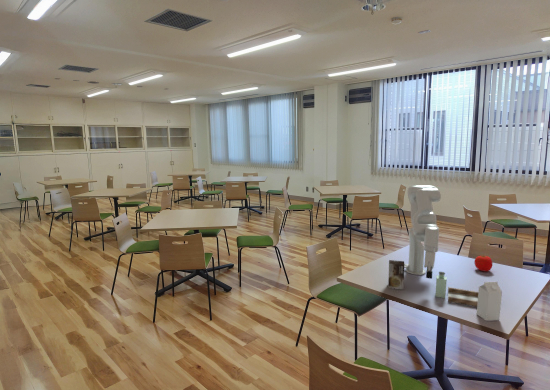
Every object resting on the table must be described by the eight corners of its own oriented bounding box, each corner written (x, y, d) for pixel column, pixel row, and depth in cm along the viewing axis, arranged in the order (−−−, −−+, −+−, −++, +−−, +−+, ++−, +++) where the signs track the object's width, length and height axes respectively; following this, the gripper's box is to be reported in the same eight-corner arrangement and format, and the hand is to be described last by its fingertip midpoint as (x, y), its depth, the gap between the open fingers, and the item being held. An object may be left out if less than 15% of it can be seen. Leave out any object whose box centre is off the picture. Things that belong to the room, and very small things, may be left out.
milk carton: (476, 314, 174) (479, 279, 171) (489, 313, 174) (492, 278, 171) (486, 321, 167) (489, 285, 164) (499, 320, 167) (502, 284, 164)
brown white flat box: (448, 301, 187) (448, 295, 186) (447, 291, 200) (448, 285, 199) (490, 309, 178) (491, 302, 177) (487, 298, 191) (488, 291, 190)
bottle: (435, 296, 194) (436, 273, 192) (435, 292, 199) (437, 270, 197) (445, 298, 192) (446, 274, 190) (445, 294, 196) (446, 271, 194)
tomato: (494, 271, 231) (496, 256, 230) (487, 274, 226) (489, 259, 224) (478, 266, 240) (479, 252, 238) (471, 269, 234) (472, 255, 233)
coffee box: (403, 285, 209) (404, 261, 206) (403, 290, 203) (404, 264, 200) (388, 283, 212) (389, 259, 209) (387, 288, 206) (388, 263, 203)
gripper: (424, 243, 202) (423, 272, 205) (423, 250, 189) (421, 281, 192) (438, 245, 199) (436, 274, 201) (437, 252, 186) (435, 283, 188)
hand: (429, 277), depth 197 cm, fingers closed
